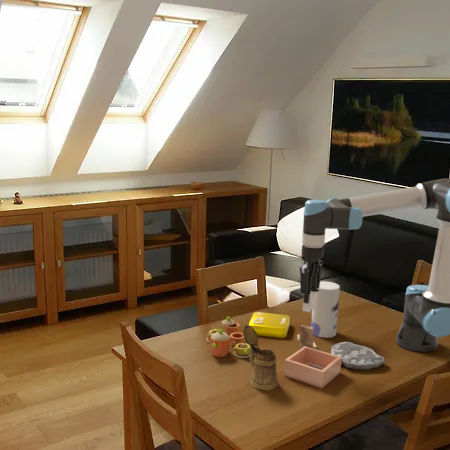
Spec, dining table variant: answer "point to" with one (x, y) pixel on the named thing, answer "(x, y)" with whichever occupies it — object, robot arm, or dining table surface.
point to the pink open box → (312, 366)
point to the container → (326, 310)
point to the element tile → (270, 324)
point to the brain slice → (357, 356)
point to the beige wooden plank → (313, 342)
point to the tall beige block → (306, 336)
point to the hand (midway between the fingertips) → (308, 310)
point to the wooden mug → (261, 363)
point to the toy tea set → (228, 340)
